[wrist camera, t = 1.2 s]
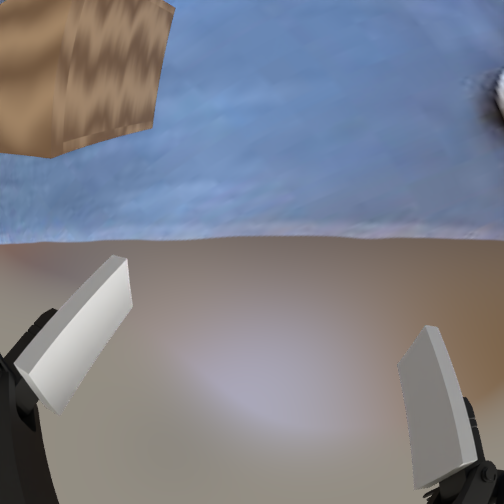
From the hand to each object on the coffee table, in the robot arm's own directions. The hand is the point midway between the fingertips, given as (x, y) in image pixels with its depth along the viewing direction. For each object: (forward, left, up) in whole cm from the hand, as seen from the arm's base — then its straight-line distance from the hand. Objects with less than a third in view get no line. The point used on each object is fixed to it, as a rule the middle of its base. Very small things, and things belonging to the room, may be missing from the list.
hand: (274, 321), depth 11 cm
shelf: (-11, -27, -25) cm, 38 cm away
